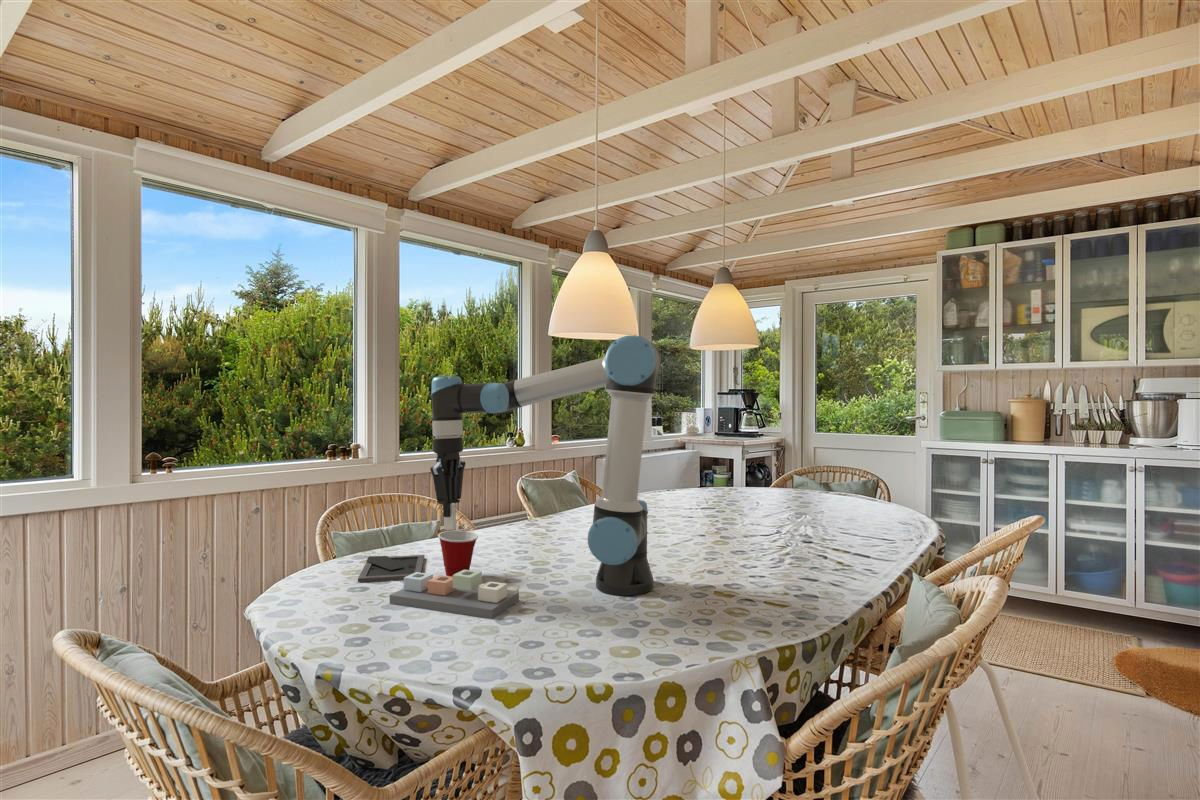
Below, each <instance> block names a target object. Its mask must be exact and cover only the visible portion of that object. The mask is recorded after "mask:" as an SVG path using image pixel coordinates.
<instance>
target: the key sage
mask: <svg viewBox="0 0 1200 800" xmlns="http://www.w3.org/2000/svg"><path fill="white" fill-rule="evenodd" d="M482 573H483V572H482V571H477V570H462V571H460V572H458V573H456V574H454V575H453V588H458V589H465V590H472V589H474V588H476V587H477V586H479V585H481V584H483V583H482V582H483V574H482Z"/></svg>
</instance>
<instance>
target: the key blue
mask: <svg viewBox="0 0 1200 800" xmlns="http://www.w3.org/2000/svg"><path fill="white" fill-rule="evenodd" d="M433 577H434V574H433V573H427V572H426V573H425V572H422V573H420V572H415V573H413V574H411V575H408V576H406V577H404V580H403V588H404V590H409V591H416V592H422V591H424V590H426V589H428V580H430V579H433Z"/></svg>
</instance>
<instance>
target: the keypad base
mask: <svg viewBox="0 0 1200 800" xmlns="http://www.w3.org/2000/svg"><path fill="white" fill-rule="evenodd" d="M435 577H436V576H435ZM435 577H434V576H433V578H435ZM483 584H484V583H482V584H481V585H479V586H477V587H476V588H474V589H472V590H465V589H458V588H457V590H455V591H453V592H451V593H449V594H447V595H446V596H445V595H437V594H430V593H428V589H426V590H424V591H422V592H416V591H409V590H404V587H403V588H402V589H398V590H397V591H395V592H393V593H391V594H389V604H391V603H393V605H398V604H399V605H400V606H404V605H406V606H405V607H411V606H413V607H412V608H418V607H420V608H419V609H424V608H425V609H426V610H431V609H432V610H431V611H437V610H438V611H439V612H444V613H452V614H458V615H464V616H470V617H471V616H473V617H479V618H484V619H485V618H486V619H491V620H492V619H494V618H496V617H497V616H498V615H500V614H501V613H503V612H504V611H506V610H507V609H508V608H510V607H511V606H512V605H514V604H516V603H517V602H518V600H520V599H519V598H520V588H519V587H512V586H507V597H505V598H504V599H502V600H501V601H499V602H497V603H494V602H487V601H480V600H478V587H480V586H482V585H483ZM515 602H516V603H515ZM502 611H503V612H502ZM499 613H500V614H499Z"/></svg>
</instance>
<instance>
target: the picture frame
mask: <svg viewBox="0 0 1200 800" xmlns="http://www.w3.org/2000/svg"><path fill="white" fill-rule="evenodd" d="M423 562H424V563H425V554H416V555H413V554H412V555H399V556H398V555H395V556H387V555H377V556H376V555H375V556H374V555H373V556H372V555H369V556H368V557H367V559H366V562H365V564H364V565H363V568H362V570H361V572H360V573H359V576H357V583H358V582H361V583H374V582H373V581H377V582H389V581H388V580H394V581H404V577H406V576H408V575H411V574H413V573H415V572H420V573H421V572H422V573H423V568H422V567H424V563H423Z"/></svg>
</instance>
